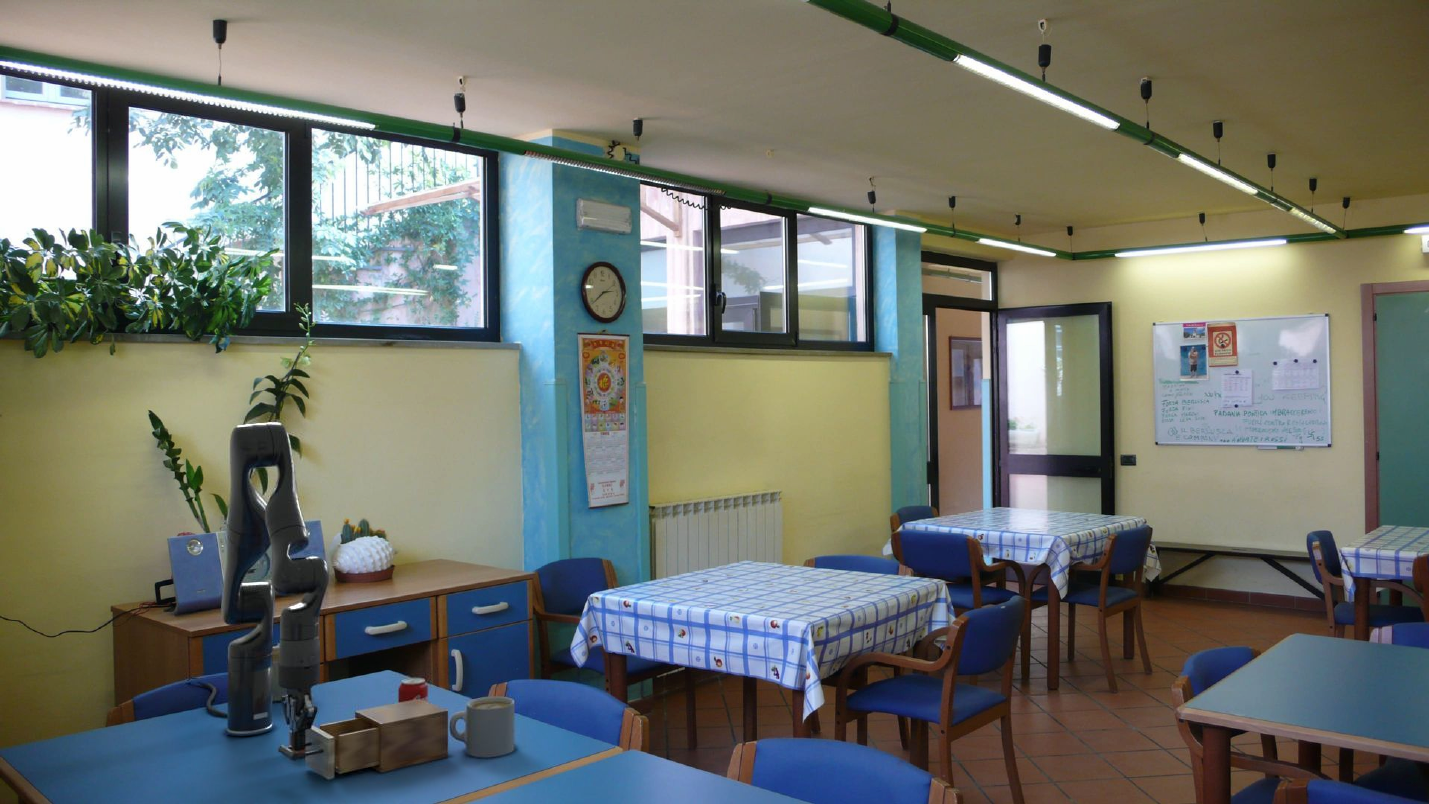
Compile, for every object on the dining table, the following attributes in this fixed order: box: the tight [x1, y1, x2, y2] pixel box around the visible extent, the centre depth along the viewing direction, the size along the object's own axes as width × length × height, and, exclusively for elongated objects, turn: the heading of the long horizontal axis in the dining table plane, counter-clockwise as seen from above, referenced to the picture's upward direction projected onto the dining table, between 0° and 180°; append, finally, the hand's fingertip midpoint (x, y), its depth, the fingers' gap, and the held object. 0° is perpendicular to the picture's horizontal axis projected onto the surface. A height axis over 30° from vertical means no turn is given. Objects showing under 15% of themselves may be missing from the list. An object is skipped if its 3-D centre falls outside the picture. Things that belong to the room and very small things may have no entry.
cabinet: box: [354, 699, 449, 773], centre depth 217 cm, size 15×13×10 cm
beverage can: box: [397, 677, 429, 703], centre depth 232 cm, size 6×6×12 cm
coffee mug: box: [448, 696, 515, 758], centre depth 222 cm, size 13×10×10 cm
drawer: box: [277, 717, 380, 780], centre depth 207 cm, size 20×11×8 cm, turn 132°
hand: (298, 749), depth 202 cm, fingers closed
